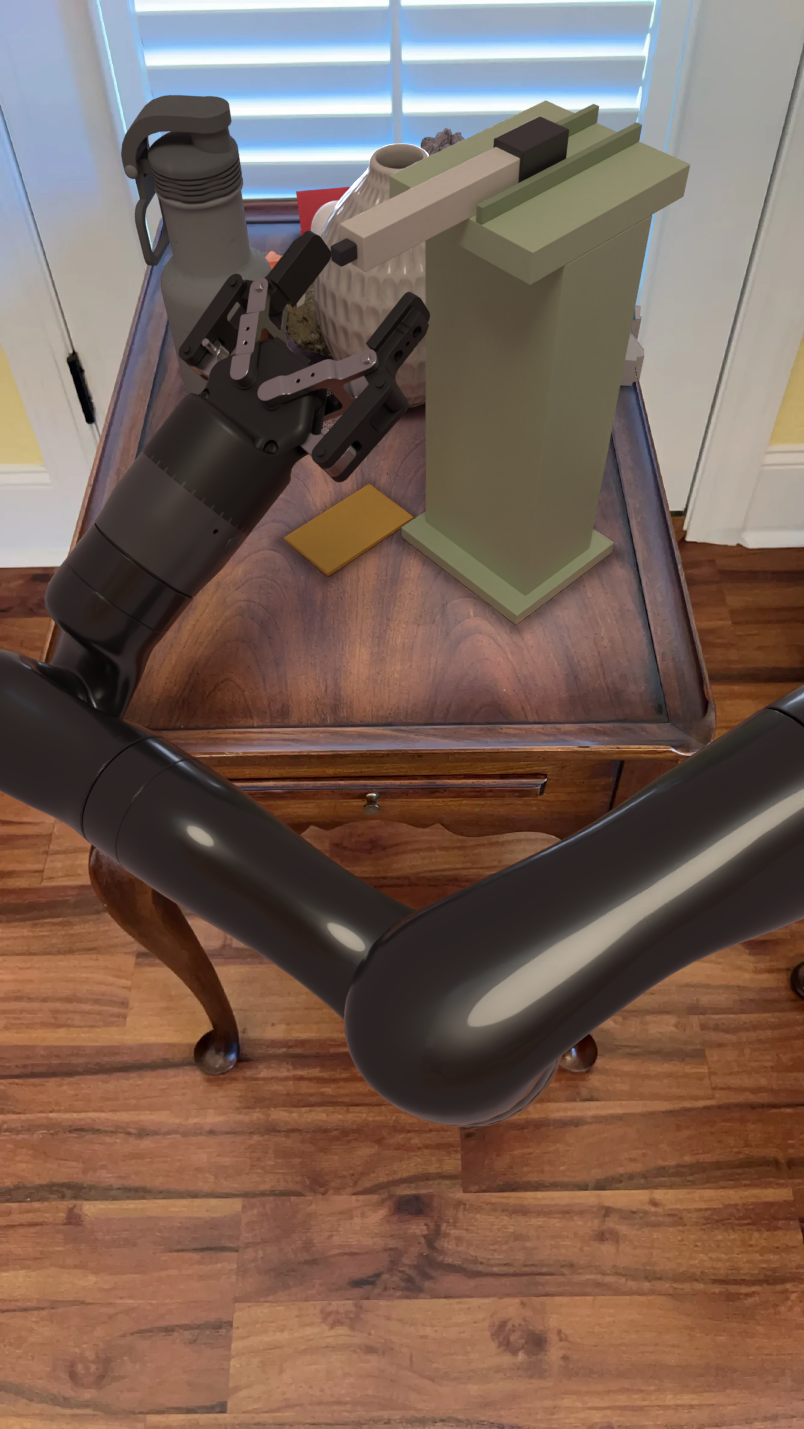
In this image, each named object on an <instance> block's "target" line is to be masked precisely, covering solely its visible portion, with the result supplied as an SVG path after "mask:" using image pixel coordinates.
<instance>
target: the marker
mask: <svg viewBox="0 0 804 1429" xmlns="http://www.w3.org/2000/svg"><path fill="white" fill-rule="evenodd" d="M568 138H569V129H568V128H565V127H563V126H561V125H559V124H557V123H554V122H552V121H550V120H548V119H545V118H543V117H541V116H539V117H537V118H535V119H533V120H531V121H529V122H527V123H525V124H523V125H521V126H519V127H517V128H515V129H513V130H511V131H509V132H507V133H504V134H502V135H500V136H498V137H496V138H494V145H493V149H491V150H489V151H487V152H485V153H482V154H480V155H478V156H476V157H474V158H472V159H470V160H468V161H466V162H464V163H462V164H460V165H458V166H456V167H454V168H452V169H450V170H448V171H446V172H444V173H442V174H440V175H438V176H436V177H434V178H432V179H430V180H428V181H426V182H424V183H422V184H419V185H417V186H415V187H413V188H411V189H409V190H407V191H405V192H403V193H401V194H399V195H397V196H395V197H393V198H391V199H389V200H387V201H385V202H383V203H381V204H379V205H377V206H375V207H373V208H371V209H369V210H367V211H365V212H363V213H361V214H359V215H356V216H354V217H352V218H350V219H348V220H346V221H344V222H342V223H340V232H341V241H339V242H337V243H335V244H333V245H331V247H330V248H331V260H332V262H334V263H336V264H337V265H339V266H341V267H343V266H345V265H347V264H349V263H351V264H353V265H355V266H356V267H358V268H359V269H361V270H363V271H364V272H367V271H369V270H371V269H373V268H374V267H376V266H378V265H380V264H382V263H384V262H386V261H388V260H390V259H392V258H394V257H395V256H397V255H399V254H401V253H403V252H405V251H407V250H409V249H411V248H413V247H415V246H417V245H418V244H420V243H422V242H424V241H426V240H428V239H430V238H432V237H434V236H436V235H438V234H439V233H441V232H443V231H445V230H447V229H449V228H451V227H453V226H455V225H457V224H459V223H461V222H462V221H464V220H466V219H468V218H470V217H472V216H474V215H476V213H477V204H479V203H481V202H483V201H485V200H487V199H489V198H491V197H493V196H495V195H497V194H499V193H501V192H503V191H504V190H506V189H508V188H510V187H512V186H514V185H516V184H518V183H520V182H522V181H524V180H526V179H528V178H530V177H532V176H533V175H535V174H537V173H539V172H541V171H543V170H545V169H547V168H549V167H551V166H553V165H555V164H557V163H559V162H560V161H562V160H564V159H566V156H567V147H568Z"/></svg>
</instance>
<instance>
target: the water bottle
mask: <svg viewBox="0 0 804 1429" xmlns="http://www.w3.org/2000/svg"><path fill="white" fill-rule="evenodd" d="M231 124H232V114H231V108H230V103H229V101H228V100H227V99H225V98H223V97H221V96H213V95H188V94H187V95H185V94H184V95H183V94H168V95H162V96H159V97H156V98H153V99H151V100H150V101H149V102H148V103H146V104H145V105H143V108H141V110H140V112H139V113H138V115H137V116H136V117H135V119H134V121H133V122H132V123H131V124H130V127H129V128H128V130H127V131H126V133H125V134H124V137H123V140H122V142H121V149H120V150H121V151H120V157H121V163H122V167H123V171H124V175H125V176H126V177H127V178H129V179H131V180H135V181H134V182H135V186H136V189H137V190H136V191H137V194H138V201H137V203H136V204H135V208H134V223H135V228H136V232H137V236H138V240H139V244H140V249H141V252H142V257H143V259H144V260H143V261H144V262H145V264H146V266H149V267H152V266H153V267H157V266H159V263H160V262H161V260H162V258H163V256H164V254H165V252H166V250H167V249H168V247H169V245H170V248H171V249H170V250H171V253H172V255H171V257H170V258H169V259H168V261H167V262H166V264H165V265H164V267H163V270H162V272H161V275H160V289H161V290H160V291H161V295H162V300H163V303H164V304H163V305H164V308H165V313H166V317H167V321H168V325H169V329H170V333H171V337H172V341H173V342H172V343H173V345H174V351H175V355H176V358H177V362H178V367H179V371H180V375H181V378H182V383H183V388H184V392H185V395H186V394H189V393H195V394H198V395H199V394H200V393H201V392H202V391H203V390H204V388H205V386H206V384H207V381H206V380H204V379H203V378H202V377H201V376H200V375H198V374H197V373H195V372H194V371H193V370H192V369H191V368H190V367H189V366H188V365H187V364H186V363H185V362H184V361H183V360H182V359H181V358H180V357H179V354H178V352H179V348H180V347H181V345H182V344H183V342H184V341H185V339H186V338H187V336H188V335H189V334H190V332H191V331H192V329H193V328H194V326H195V325H196V323H197V322H198V321H199V319H200V318H201V316H202V315H203V313H204V312H205V310H206V309H207V308H208V306H209V305H210V303H211V302H212V300H213V299H214V298H215V296H216V295H217V293H218V292H219V290H220V289H221V287H222V286H223V285H224V283H225V282H226V280H227V279H228V278H229V277H230V276H231V275H233V274H240V275H241V276H242V277H243V278H244V279H245V280H252V281H255V280H256V279H258V278H261V277H262V278H265V277H266V276H267V275H268V274H269V272H270V271H271V270H272V269H271V267H270V265H269V262H268V260H267V259H266V258H265V257H264V256H263V255H262V254H261V252H262V251H260V250H258V249H257V248H255V247H254V246H252V245H251V244H250V237H249V231H248V226H247V225H248V224H247V220H246V218H247V217H246V212H245V205H244V200H243V192H242V189H243V186H244V178H243V172H242V164H241V159H240V151H239V146H238V143H237V140H236V139H235V138H234V137H233V136H232V135H231V133H230V129H229V127H230V126H231ZM165 132H166V133H165ZM159 133H164V134H162V135H161V136H160V137H158V138H157V139H156V140H154V141H153V143H152V144H151V145H150V142H149V136H151V135H153V134H159ZM155 195H156V196H157V200H158V204H159V210H160V214H161V219H162V234H161V237H160V239H159V241H158V242H157V244H156V246H155V247H154V250H153V249H152V244H151V241H150V237H149V232H148V228H147V222H146V218H147V217H146V216H147V209H148V207H149V206H150V203H151V202H152V200H153V198H154V196H155ZM239 306H240V304H239V303H238V302H236V304H235V305H234V307H233V308H232V310H231V311H230V312H229V314H228V316H227V319H228V321H230V319H231V318H232V317H233V315H234V314H235V312H236V311H237V309H238V308H239ZM235 353H236V348H235V349H234V351H233V352H232V353H231V355H233V354H235ZM231 355H230V356H231Z"/></svg>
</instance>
